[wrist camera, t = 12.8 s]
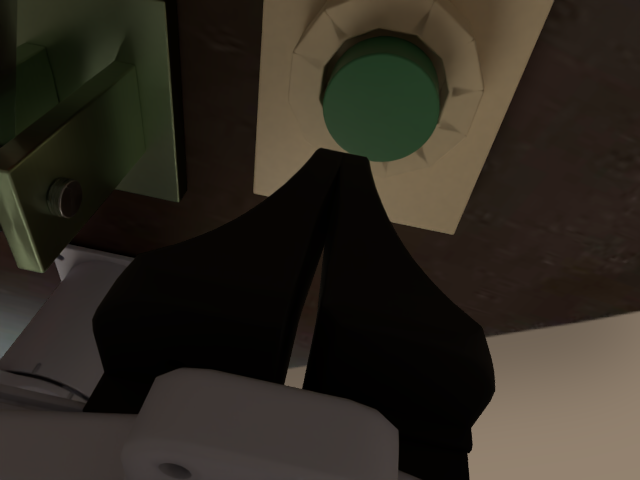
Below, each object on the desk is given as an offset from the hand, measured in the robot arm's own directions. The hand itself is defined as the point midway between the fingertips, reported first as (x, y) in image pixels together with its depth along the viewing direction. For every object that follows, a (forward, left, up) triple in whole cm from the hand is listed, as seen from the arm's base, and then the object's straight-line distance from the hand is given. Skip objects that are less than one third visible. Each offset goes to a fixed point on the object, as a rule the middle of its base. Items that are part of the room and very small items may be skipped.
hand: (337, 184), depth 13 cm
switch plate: (-1, -1, -10) cm, 10 cm away
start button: (0, -1, -7) cm, 7 cm away
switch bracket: (-4, +12, -10) cm, 16 cm away
